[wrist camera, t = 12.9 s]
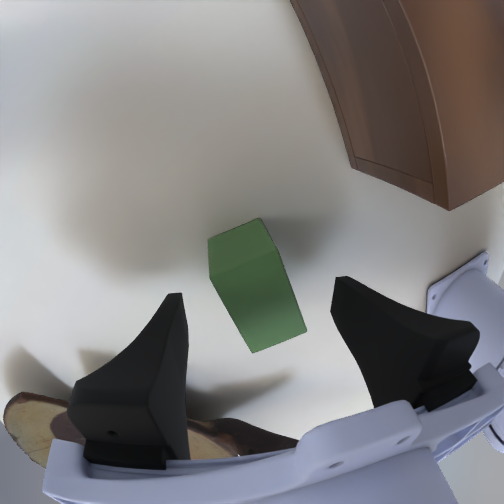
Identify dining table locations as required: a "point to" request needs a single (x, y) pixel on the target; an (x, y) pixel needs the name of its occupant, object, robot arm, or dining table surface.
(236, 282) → the block
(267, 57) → the dining table surface
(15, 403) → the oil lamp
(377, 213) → the dining table surface
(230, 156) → the dining table surface
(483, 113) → the cabinet
